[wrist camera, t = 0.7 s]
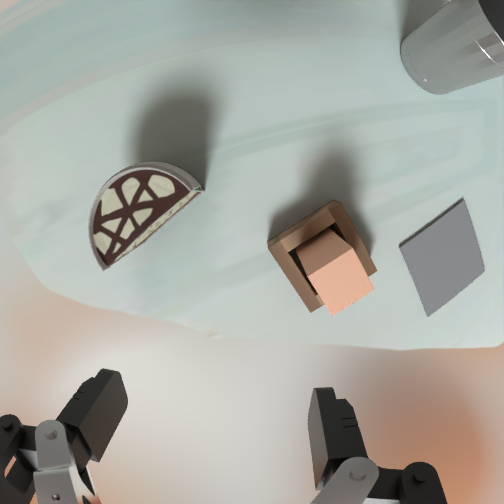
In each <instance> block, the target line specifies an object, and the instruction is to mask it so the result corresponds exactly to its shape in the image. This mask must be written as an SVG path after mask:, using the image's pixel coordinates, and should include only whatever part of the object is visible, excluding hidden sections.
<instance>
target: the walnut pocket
mask: <svg viewBox="0 0 504 504" xmlns="http://www.w3.org/2000/svg"><path fill="white" fill-rule="evenodd" d="M332 224H333V225H334V227H335V228H336V230H337V232H338V234H339V235H340V237H341V238H342V239H343V240H344V241H345V242H346V243H348V244H349V245H350V246H351V247H352V248H353V249H354V251H355V253H356V255H357V257H358V259H359V260H360V262H361V264H362V266H363V268H364V270H365V272H366V274H367V276H368V277H369V276H370V275H372V274H373V273H375V272H376V271H377V269H376V267H375V265H374V263H373V261H372V259H371V257H370V255H369V254H368V252H367V250H366V248H365V246H364V244H363V242H362V240H361V238H360V237H359V235H358V233H357V231H356V229H355V227H354V226H353V224H352V222H351V220H350V218H349V217H348V215H347V213H346V211H345V210H344V208H343V206H342V204H341V203H340V202H338V201H335V200H332V201H331V202H329V203H328V204H326V205H324V206H323V207H321V208H320V209H318V210H317V211H315V212H313V213H312V214H310V215H309V216H307V217H306V218H304V219H302V220H301V221H299V222H298V223H296V224H295V225H293V226H291V227H290V228H288V229H287V230H285V231H284V232H282V233H280V234H279V235H277V236H276V237H274V238H273V239H271V240H270V241H268V242H267V244H268V249H269V251H270V252H271V254H272V255H273V257H274V258H275V260H276V261H277V263H278V264H279V266H280V267H281V269H282V270H283V272H284V273H285V275H286V276H287V278H288V279H289V281H290V282H291V284H292V285H293V287H294V288H295V290H296V291H297V293H298V294H299V296H300V297H301V299H302V300H303V302H304V304H305V305H306V307H307V308H308V310H309V311H310V313H311V312H313V311H314V310H316V309H318V308H319V307H321V306H323V305H324V302H323V301H322V299H321V297H320V296H319V294H318V293H317V291H316V289H315V288H314V286H311V285H310V283H309V282H308V280H307V279H306V277H305V275H304V274H303V272H302V271H301V269H300V268H299V266H298V264H297V263H296V261H295V260H294V258H293V257H292V255H291V254H290V252H289V251H291V250H292V249H294V248H295V247H297V246H299V245H300V244H302V243H303V242H305V241H307V240H308V239H310V238H311V237H313V236H314V235H316V234H318V233H319V232H321V231H322V230H324V229H325V228H327V227H329V226H330V225H332Z"/></svg>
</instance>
